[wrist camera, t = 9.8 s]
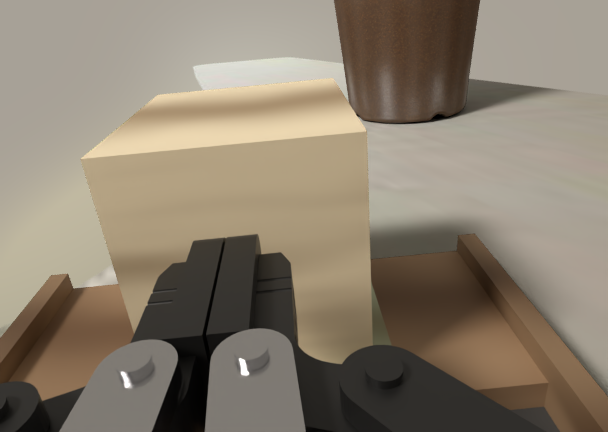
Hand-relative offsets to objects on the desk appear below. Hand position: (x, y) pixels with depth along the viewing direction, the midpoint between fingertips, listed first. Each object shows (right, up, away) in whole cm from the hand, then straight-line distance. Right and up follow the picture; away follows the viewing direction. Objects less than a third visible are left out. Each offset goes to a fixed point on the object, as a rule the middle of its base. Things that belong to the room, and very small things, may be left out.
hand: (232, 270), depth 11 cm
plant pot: (+13, +13, +39) cm, 43 cm away
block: (0, -2, +7) cm, 8 cm away
